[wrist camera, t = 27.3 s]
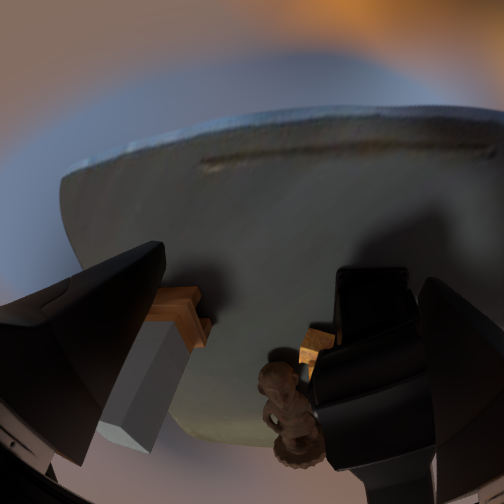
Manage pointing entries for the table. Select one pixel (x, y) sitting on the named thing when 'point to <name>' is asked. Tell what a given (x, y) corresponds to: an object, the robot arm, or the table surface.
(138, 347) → the grey stepped block
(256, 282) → the table surface
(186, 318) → the wooden footstool
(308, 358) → the pyrite
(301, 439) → the figurine
